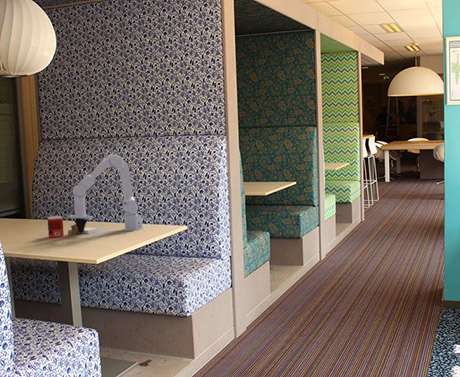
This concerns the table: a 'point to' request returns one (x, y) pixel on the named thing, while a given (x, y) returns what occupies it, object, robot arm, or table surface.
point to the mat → (95, 233)
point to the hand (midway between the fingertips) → (81, 232)
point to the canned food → (55, 227)
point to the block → (75, 229)
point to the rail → (70, 232)
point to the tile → (89, 230)
